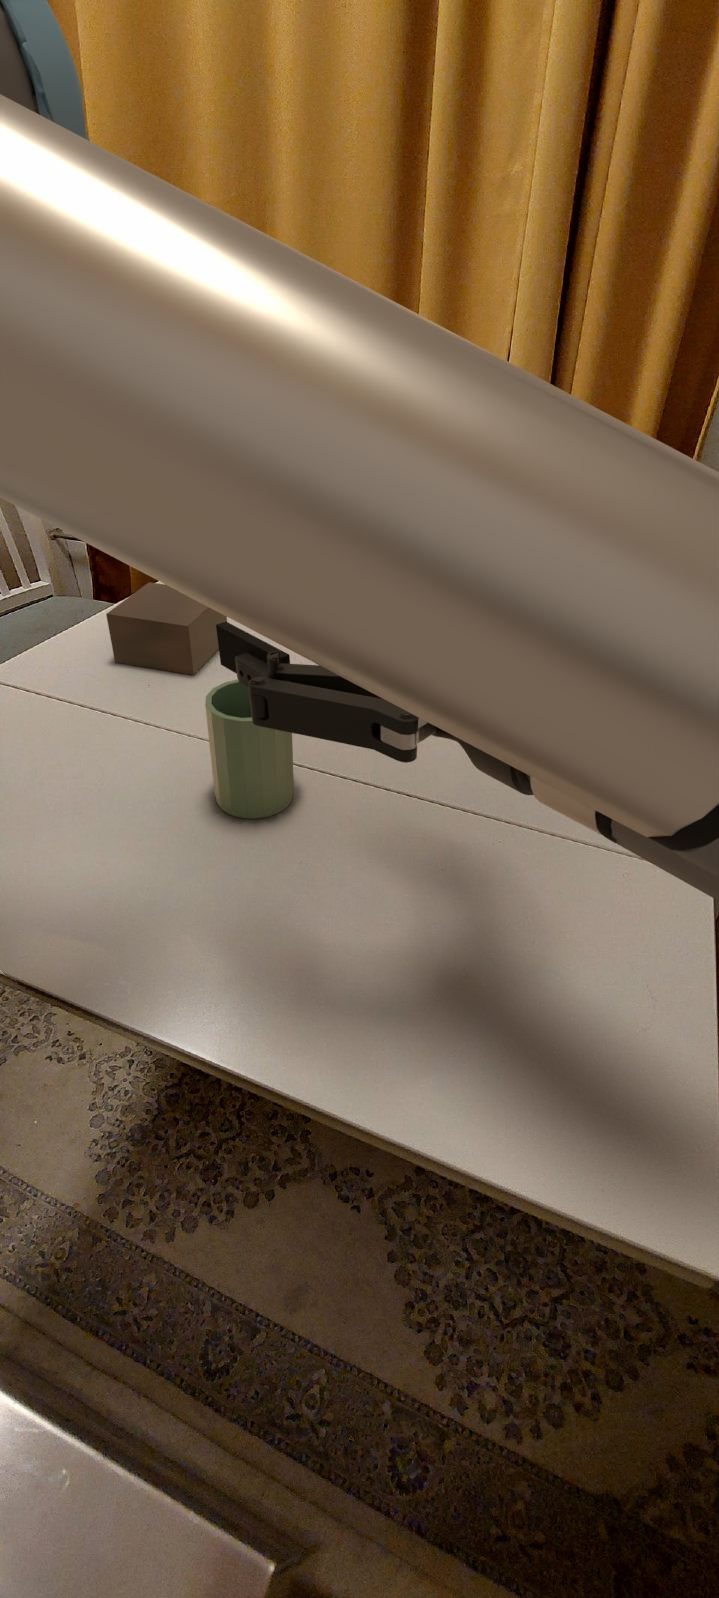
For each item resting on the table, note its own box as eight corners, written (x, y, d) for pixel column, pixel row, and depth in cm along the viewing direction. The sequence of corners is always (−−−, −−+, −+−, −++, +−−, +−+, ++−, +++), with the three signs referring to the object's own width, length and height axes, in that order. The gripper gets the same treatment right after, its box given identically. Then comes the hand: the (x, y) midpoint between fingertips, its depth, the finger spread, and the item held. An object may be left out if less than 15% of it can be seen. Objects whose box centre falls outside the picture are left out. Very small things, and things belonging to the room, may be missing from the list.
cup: (202, 810, 67) (190, 712, 61) (234, 767, 72) (226, 673, 66) (277, 825, 65) (273, 726, 59) (303, 780, 71) (302, 685, 65)
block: (114, 662, 88) (105, 613, 85) (155, 627, 96) (148, 581, 92) (193, 675, 86) (188, 626, 83) (228, 639, 94) (225, 592, 91)
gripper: (389, 902, 34) (153, 725, 47) (676, 715, 48) (432, 617, 60) (392, 762, 30) (130, 609, 43) (708, 600, 43) (437, 521, 56)
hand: (307, 614), depth 52 cm, fingers open, 13 cm apart
